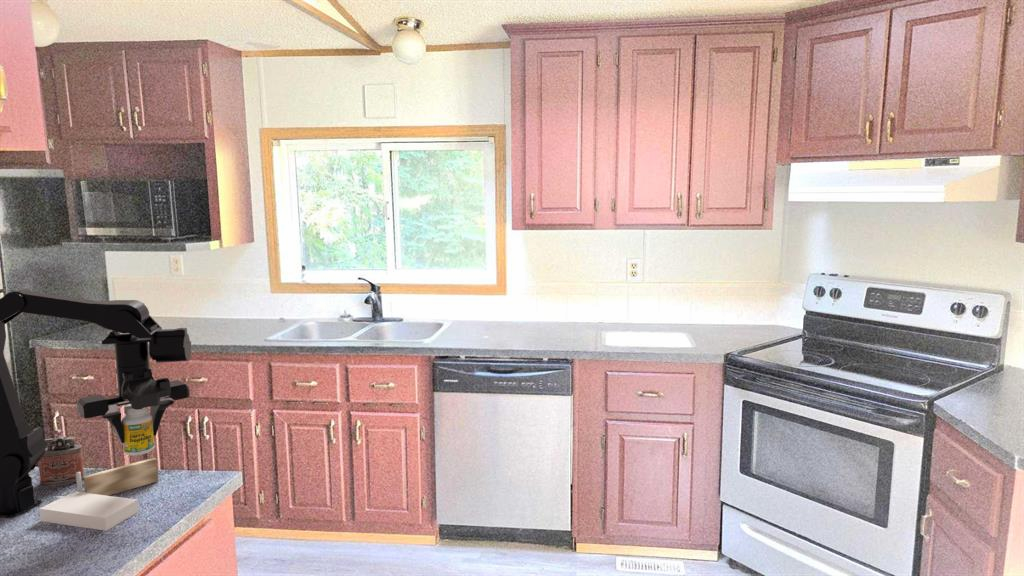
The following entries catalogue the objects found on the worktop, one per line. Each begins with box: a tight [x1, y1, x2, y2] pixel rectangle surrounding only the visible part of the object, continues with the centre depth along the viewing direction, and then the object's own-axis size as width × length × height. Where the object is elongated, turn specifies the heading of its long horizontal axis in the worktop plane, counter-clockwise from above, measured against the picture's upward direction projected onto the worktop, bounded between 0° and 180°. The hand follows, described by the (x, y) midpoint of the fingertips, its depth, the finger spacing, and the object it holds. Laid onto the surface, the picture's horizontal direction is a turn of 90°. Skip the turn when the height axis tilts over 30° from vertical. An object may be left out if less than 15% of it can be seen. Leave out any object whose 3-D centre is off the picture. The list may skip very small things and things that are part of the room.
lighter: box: [37, 435, 86, 488], centre depth 132 cm, size 8×3×10 cm, turn 111°
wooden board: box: [83, 457, 159, 496], centre depth 128 cm, size 13×1×5 cm, turn 137°
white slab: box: [39, 472, 140, 532], centre depth 119 cm, size 15×9×6 cm, turn 77°
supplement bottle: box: [121, 404, 156, 456], centre depth 125 cm, size 5×5×10 cm
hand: (138, 438), depth 125 cm, fingers closed on supplement bottle, 5 cm apart
